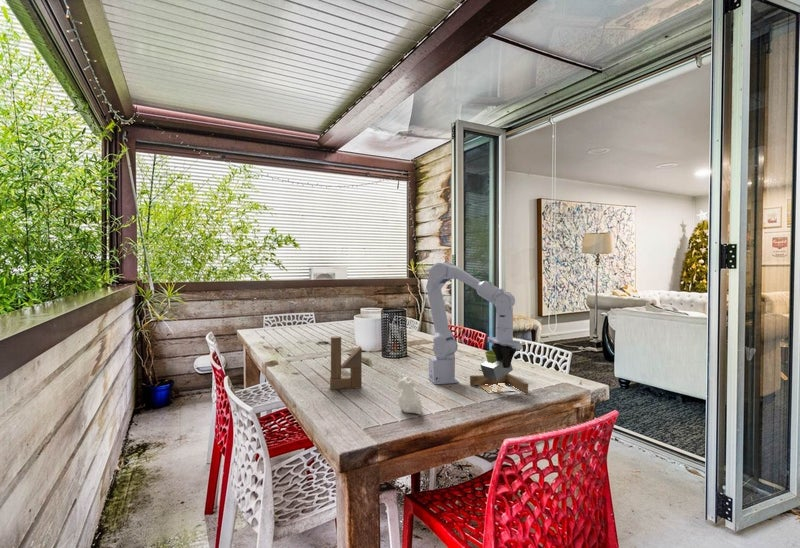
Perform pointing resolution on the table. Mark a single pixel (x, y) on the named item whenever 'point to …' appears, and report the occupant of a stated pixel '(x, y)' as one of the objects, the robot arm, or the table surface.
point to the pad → (486, 387)
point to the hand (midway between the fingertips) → (503, 366)
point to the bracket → (495, 369)
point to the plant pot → (490, 356)
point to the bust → (408, 396)
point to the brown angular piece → (352, 362)
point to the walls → (500, 381)
